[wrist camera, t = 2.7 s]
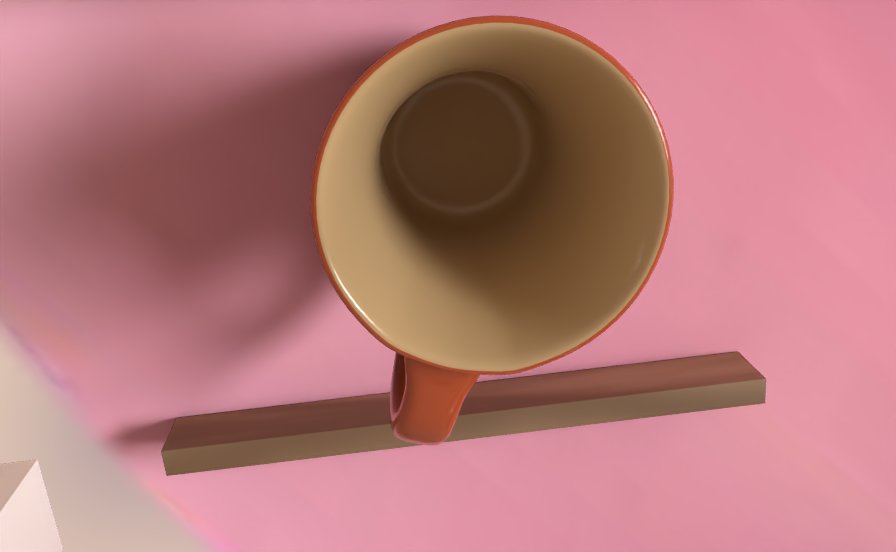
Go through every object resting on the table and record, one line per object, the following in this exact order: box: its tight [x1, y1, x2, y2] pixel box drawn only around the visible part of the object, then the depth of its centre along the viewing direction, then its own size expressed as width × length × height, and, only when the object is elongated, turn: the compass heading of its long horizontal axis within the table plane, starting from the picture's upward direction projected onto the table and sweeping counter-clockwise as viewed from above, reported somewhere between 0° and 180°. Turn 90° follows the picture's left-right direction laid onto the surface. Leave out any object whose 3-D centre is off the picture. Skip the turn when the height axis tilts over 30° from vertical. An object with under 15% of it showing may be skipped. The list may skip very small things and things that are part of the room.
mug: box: [310, 16, 673, 445], centre depth 25 cm, size 12×9×10 cm
